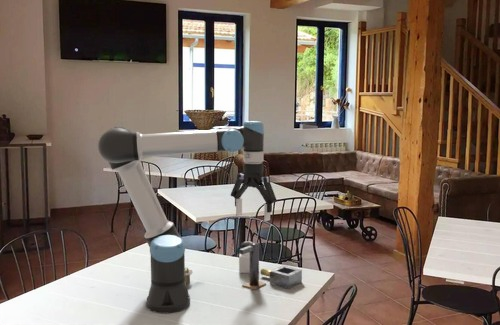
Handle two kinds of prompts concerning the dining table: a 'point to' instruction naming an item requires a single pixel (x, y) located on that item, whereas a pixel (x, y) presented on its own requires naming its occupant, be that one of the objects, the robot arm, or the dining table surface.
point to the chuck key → (252, 262)
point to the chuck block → (284, 276)
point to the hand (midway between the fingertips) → (252, 217)
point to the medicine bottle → (244, 259)
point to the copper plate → (254, 286)
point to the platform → (187, 275)
